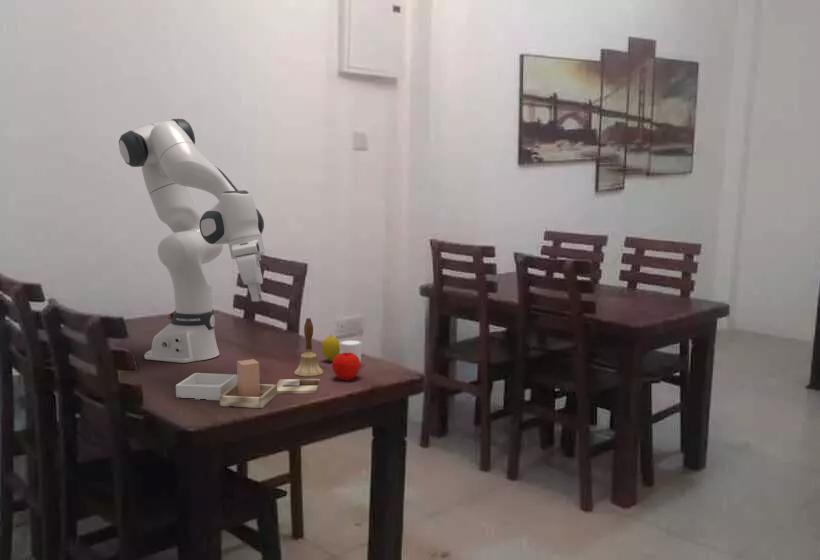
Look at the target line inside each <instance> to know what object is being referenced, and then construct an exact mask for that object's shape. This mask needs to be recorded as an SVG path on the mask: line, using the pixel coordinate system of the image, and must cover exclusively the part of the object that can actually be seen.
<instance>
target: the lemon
mask: <svg viewBox="0 0 820 560" xmlns="http://www.w3.org/2000/svg"><path fill="white" fill-rule="evenodd" d="M339 342H340V341H339V339H338V338H337V337H336V336H333V335H332V334H330V335H329V336H327V337H326V336H325V338H324V340H322V344H321V352H322V355H323V357H324V358H326V359H327V360H329V361H330V362H333V360H334V358H335V357H336V356H337V355H338V354H340V348H339Z"/></svg>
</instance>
